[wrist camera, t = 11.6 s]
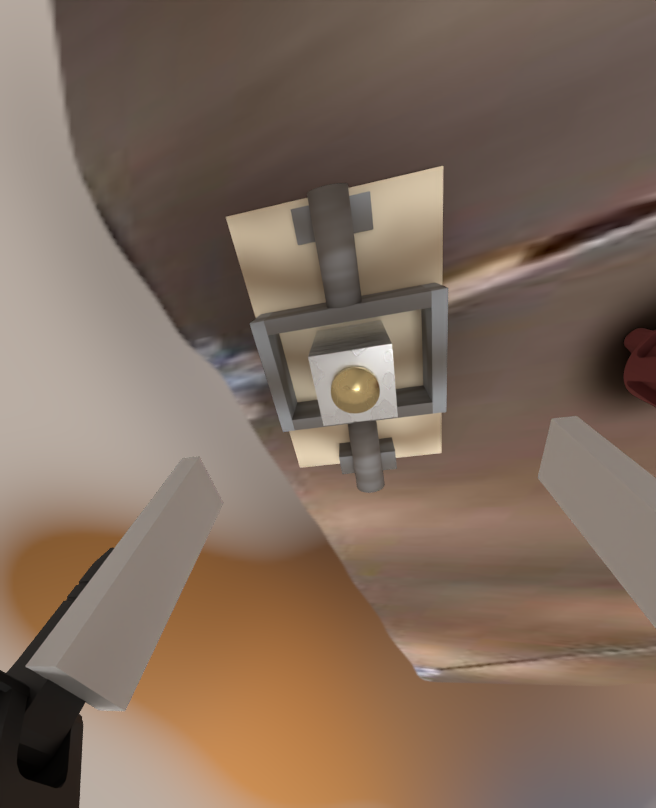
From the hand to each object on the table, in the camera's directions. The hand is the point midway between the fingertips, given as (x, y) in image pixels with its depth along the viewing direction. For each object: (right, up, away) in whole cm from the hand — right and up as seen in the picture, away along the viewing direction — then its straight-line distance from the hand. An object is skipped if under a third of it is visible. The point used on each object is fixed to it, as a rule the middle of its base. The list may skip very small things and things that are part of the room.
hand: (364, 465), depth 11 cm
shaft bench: (+1, +7, +13) cm, 15 cm away
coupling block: (+1, +6, +12) cm, 14 cm away
